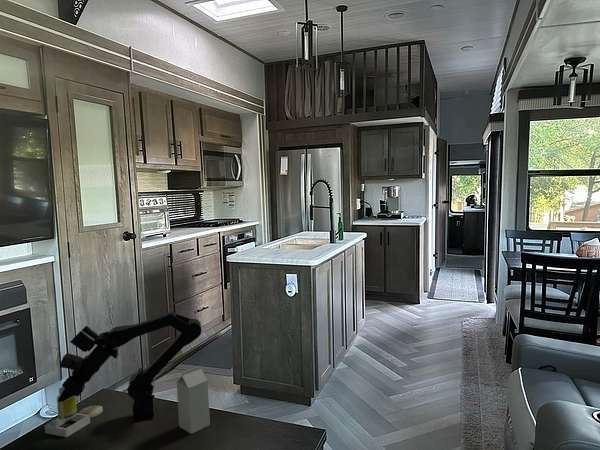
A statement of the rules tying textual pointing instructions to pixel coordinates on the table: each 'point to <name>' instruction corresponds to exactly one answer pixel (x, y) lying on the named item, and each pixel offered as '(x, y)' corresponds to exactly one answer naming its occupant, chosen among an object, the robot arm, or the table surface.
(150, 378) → the robot arm
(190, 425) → the milk carton
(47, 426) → the bin
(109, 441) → the table surface
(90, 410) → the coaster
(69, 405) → the supplement bottle
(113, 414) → the table surface
